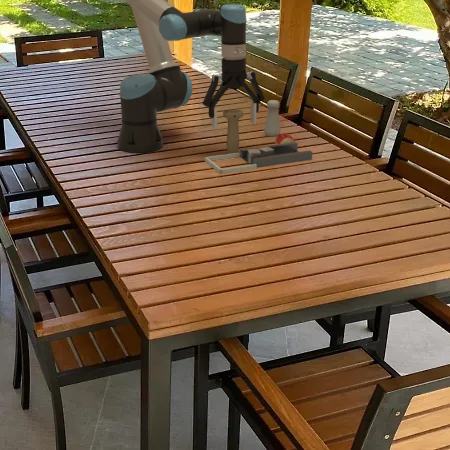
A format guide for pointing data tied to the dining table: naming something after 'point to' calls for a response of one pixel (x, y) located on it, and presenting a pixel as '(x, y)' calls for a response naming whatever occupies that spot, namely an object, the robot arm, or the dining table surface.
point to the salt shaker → (272, 119)
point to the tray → (227, 170)
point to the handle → (233, 130)
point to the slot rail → (279, 155)
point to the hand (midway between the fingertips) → (234, 125)
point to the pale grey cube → (252, 155)
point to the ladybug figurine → (284, 139)
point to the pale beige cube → (266, 152)
